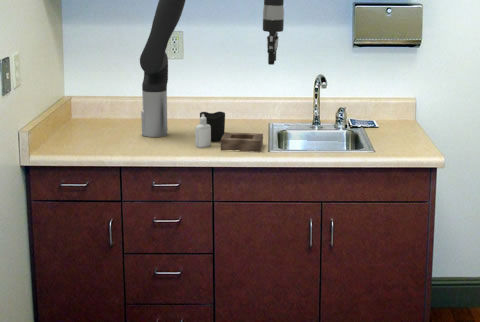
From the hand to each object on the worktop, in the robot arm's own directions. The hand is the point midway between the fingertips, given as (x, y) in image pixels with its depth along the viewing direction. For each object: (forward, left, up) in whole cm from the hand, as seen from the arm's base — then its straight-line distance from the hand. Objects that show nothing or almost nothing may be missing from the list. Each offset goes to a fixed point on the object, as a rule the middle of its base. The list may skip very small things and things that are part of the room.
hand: (272, 62), depth 284 cm
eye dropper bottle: (-23, -15, -29) cm, 40 cm away
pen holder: (-21, -4, -29) cm, 36 cm away
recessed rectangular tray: (-9, -14, -29) cm, 33 cm away
